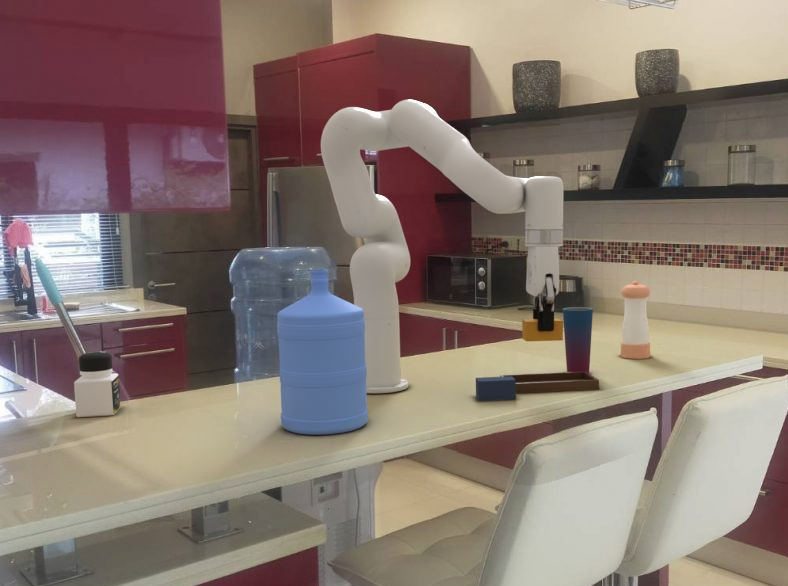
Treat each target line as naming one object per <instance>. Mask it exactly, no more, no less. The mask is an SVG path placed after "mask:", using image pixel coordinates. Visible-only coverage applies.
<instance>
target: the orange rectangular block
mask: <svg viewBox="0 0 788 586" xmlns="http://www.w3.org/2000/svg"><path fill="white" fill-rule="evenodd" d="M521 338H522V340H523V341H525V342H551V341H552V342H553V341H555V342H556V341H557V342H558V341H564V321H563V319H561V318H559V317H557V318H556V317H554V331H538V319H533V318H523V319H521Z"/></svg>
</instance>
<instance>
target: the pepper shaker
mask: <svg viewBox="0 0 788 586" xmlns="http://www.w3.org/2000/svg"><path fill="white" fill-rule="evenodd" d="M620 294H621V296H622V297H623V298H624V311H623V312H624V313H623V314H624V315H623V321H622V327H621V335H622V336H621V338H622V339H621V340H622V341H621V342H620V357H621V358H624V359H629V360H630V359H632V360H633V359H634V360H640V359H649V358H650V357H651V342H650V341H649V339H650V337H649V336H650V328H649V320H648V315H647V313H648V312H647V310H648V309H647V307H648V306H647V298H648V297H649V296H650V294H651V291H650V289H649V287H648V286H647V285H644V284H640V282H639V281H638V280H634V281H632V284H627V285H625V286H623V287H622V288H621V292H620Z"/></svg>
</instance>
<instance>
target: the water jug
mask: <svg viewBox="0 0 788 586" xmlns="http://www.w3.org/2000/svg"><path fill="white" fill-rule="evenodd" d="M309 273H310V278H311V279H310V281H309V282H310V287H311V289H310V292H309V294H308V295H306V296H304V297H303V298H301V299H299V300H297V301H296V302H294V303H291V304H289V305H288V306H286V307H284V308H283V309H280V310H279V311H278V312H277V314H276V315H277V316H276V318H277V322H276V334H277V338H278V339H277V340H278V341H277V343H278V357H279V383H280V408H281V409H280V410H281V413H280V424H281V426H282V427H283V428H284V429H285V430H286V431H288V432H291V433H293V434H294V433H295V434H298V435H299V434H300V435H308V436H309V435H311V436H324V435H337V434H343V433H348V432H352V431H355V430H359V429H360V428H362V427H363V426H365V425H366V424H367V423H368V420H369V409H368V399H367V398H368V396H367V395H368V393H366V377H367V368H366V363H365V319H364V311H363V309H362V308H360V307H358V306H356V305H354V303H352V302H349V301H348V300H345V299H343V298H340V297H338V296H336V295H334V294H332V292H330V289H329V282H330V281H329V278H328V273H329V270H328V269H316V270H315V269H314V270H309Z"/></svg>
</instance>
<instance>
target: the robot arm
mask: <svg viewBox="0 0 788 586" xmlns="http://www.w3.org/2000/svg"><path fill="white" fill-rule="evenodd" d="M407 147H409V148H410V149H411V150H413V151H414V152H415V153H417V154H418V155H420V156H421V157H422V158H423V159H425V160H426V161H427V162H429V163H430V164H431V165H433V167H435V168H436V169H437V170H439V172H441V173H442V175H444V176H445V177H446V178H447V179H449V180H450V181H451V182H452V183H453V184H454V185H455V186H456V187H457V188H458V189H460V190H461V191H462V192H463V193H465V194H466V195H467V196H468V197H470V198H471V199H473V200H474V201H475V202H477V204H479V205H480V206H482V208H484V209H485V210H487V211H489V212H491V213H493V214H498V215H499V214H500V215H502V214H503V215H504V214H505V215H509V214H517V213H524V214H525V215H524V220H525V221H524V228H525V230H524V246H525V247H528V249H527V260H526V276H525V277H526V278H525V291H526V293H528V294H529V295H531V296H533V299H532V300H533V303H532V307H533V308H532V319H538V331H554V318H555V296H557V295H558V294H559V291H560V255H559V247H563V246H564V182H563V180H562V178H561V177H558V176H549V175H547V176H546V175H545V176H544V175H543V176H541V175H540V176H532V177H529V178H525V177H516V176H511V175H506V174H504V173H503V172H501V170H499V169H497V168H496V167H494V166H493V165H492V164H491V163H490V162H488V161H487V160H486V159H484V157H482V156H481V155H480V154H479V153H478V152H477V151H475V149H474V148H473V147H472V145H471V143H470V140H469V139H468V138H467V137H466V136H465V135H464V134H463V133H461V132H460V131H459V130H457V129H455V127H453V126H451V125H450V124H449V123H448V122H446V121H445V120H443V119H442V118H440V116H439V115H438V113H437V111H436V110H435V109H434V108H433V107H432V106H430V105H429V104H427V103H423V102H421V101H418V100H414V99H403V100H400V101H398V102H397V103H396V104H395V105H393V107H392V108H391V109H388V110H381V111H373V110H371V109H370V110H369V109H366V108H362V107H358V106H348V107H345V108H344V107H343V108H342V109H339V110H337V112H335V113H334V114H333V115H331V117H330V118H329V119H328V121H327V122H326V123H325V126H324V127H323V129H322V134H321V137H320V154H321V159H322V163H323V165H324V168H325V172H326V174H327V175H326V176H327V178H328V182H329V184H330V187H331V188H330V189H331V192H332V196H333V199H334V203H335V205H336V209H337V213H338V216H339V219H340V223H341V225H342V228H343V230H344V232H346V233H347V234H348V235H349V236H351V237H353V238H356V239H363V243H364V244H363V245H361V246H359V247H358V248H357V249H355V251H354V253H353V254H352V256H351V259H350V263H349V276H350V282H351V287H352V293H353V304H354V305H356V306H358V307H360V308H362V309H363V311H364V319H365V363H366V368H367V377H366V393H367V394H390V393H396V392H401V391H403V390H407V389H408V388H409V381H408V380H407V379H404V378H402V368H401V367H402V365H401V337H400V336H401V335H400V334H401V332H400V331H401V328H400V306H399V298H398V293H397V292H398V291H397V286H396V283H399V282H400V281H402V280H403V279H405V277H406V276H407V275H408V273H409V271H410V267H411V254H410V251H409V247H408V244H407V241H406V237H405V234H404V231H403V227H402V224H401V221H400V218H399V214H398V212H397V210H396V209H397V208H395V205H394V204H393V203H392V202H391V201H390V200H389V199H388V198H387V197H386V196H383V195H381V194H377V193H376V192H375V190H374V188H373V184H372V182H371V177H370V173H369V170H368V168H367V166H366V164H365V162H364V160H363V158H362V156H361V150H362V151H366V152H367V151H368V152H377V151H386V150H391V149H392V150H393V149H401V148H407Z"/></svg>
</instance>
